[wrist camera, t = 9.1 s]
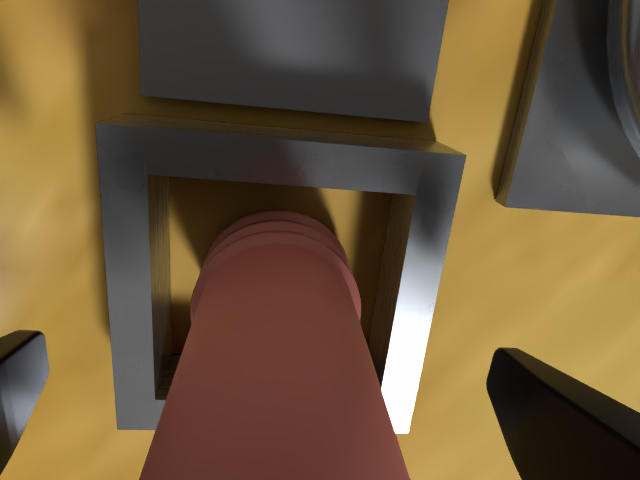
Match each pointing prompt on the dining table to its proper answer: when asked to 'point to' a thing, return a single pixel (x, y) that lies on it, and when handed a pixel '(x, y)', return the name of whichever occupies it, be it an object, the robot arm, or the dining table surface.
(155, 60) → the mat
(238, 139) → the collar
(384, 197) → the dining table surface
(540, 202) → the wheel base
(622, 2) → the handwheel
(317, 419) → the pink rounded cylinder
